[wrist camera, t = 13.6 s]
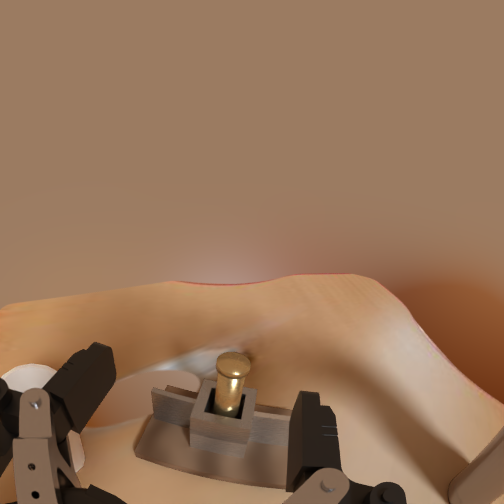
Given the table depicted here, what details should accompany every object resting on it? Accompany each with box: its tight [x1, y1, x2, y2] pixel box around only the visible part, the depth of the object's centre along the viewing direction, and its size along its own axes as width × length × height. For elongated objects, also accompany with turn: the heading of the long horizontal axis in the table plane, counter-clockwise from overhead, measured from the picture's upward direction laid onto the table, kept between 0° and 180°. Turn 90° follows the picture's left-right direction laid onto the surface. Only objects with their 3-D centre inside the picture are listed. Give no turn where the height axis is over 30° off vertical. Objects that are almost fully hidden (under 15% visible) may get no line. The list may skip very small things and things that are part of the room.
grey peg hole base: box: [134, 385, 293, 489], centre depth 34 cm, size 20×14×2 cm
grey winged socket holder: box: [151, 379, 291, 458], centre depth 32 cm, size 19×7×7 cm, turn 83°
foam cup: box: [1, 364, 85, 473], centre depth 22 cm, size 10×9×13 cm
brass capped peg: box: [213, 352, 251, 419], centre depth 31 cm, size 4×4×14 cm
